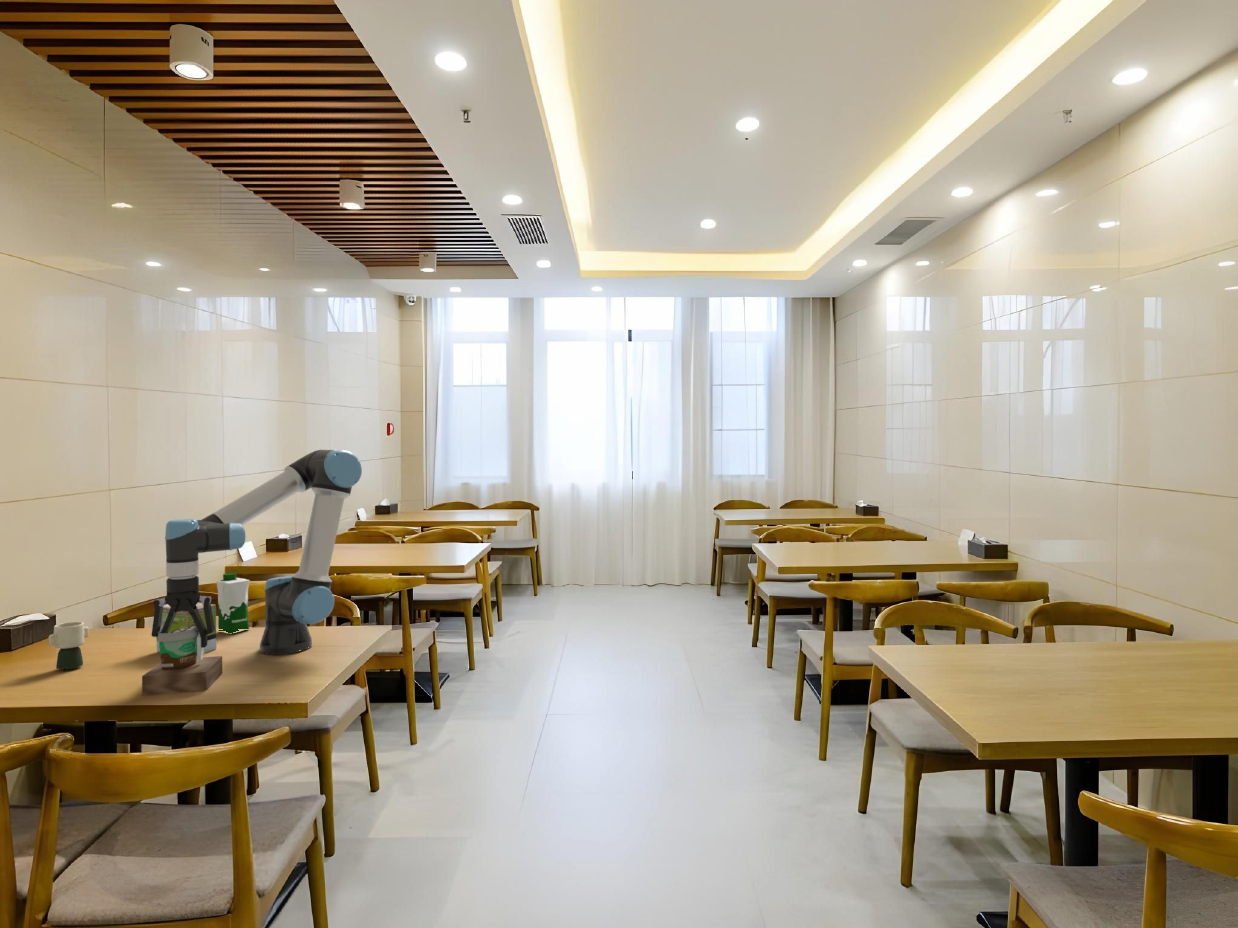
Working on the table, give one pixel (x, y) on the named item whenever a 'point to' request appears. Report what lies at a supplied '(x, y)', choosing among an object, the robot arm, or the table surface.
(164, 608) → the tea box
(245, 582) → the milk carton
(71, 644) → the character mug
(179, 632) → the food container
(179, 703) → the table surface
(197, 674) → the walnut plinth
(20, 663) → the table surface
